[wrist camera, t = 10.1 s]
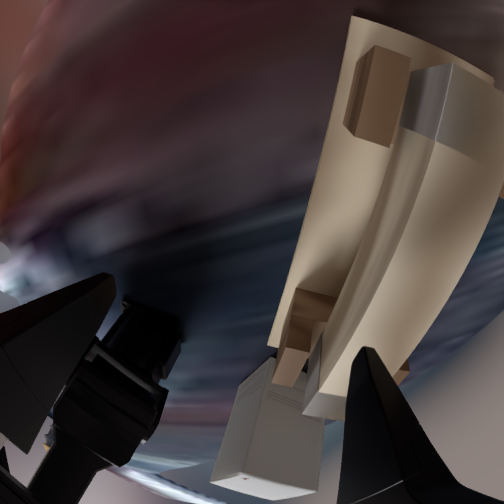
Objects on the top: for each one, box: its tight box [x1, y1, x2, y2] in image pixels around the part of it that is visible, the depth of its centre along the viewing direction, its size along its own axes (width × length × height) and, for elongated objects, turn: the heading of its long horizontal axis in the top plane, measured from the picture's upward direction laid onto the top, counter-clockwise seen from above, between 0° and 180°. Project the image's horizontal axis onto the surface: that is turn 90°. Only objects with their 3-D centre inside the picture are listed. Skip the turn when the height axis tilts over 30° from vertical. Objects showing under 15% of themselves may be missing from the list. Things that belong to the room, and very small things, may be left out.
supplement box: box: [210, 357, 325, 500], centre depth 24 cm, size 7×7×13 cm
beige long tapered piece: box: [267, 16, 504, 388], centre depth 16 cm, size 10×26×7 cm, turn 170°
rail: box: [302, 63, 504, 421], centre depth 14 cm, size 4×20×5 cm, turn 170°
